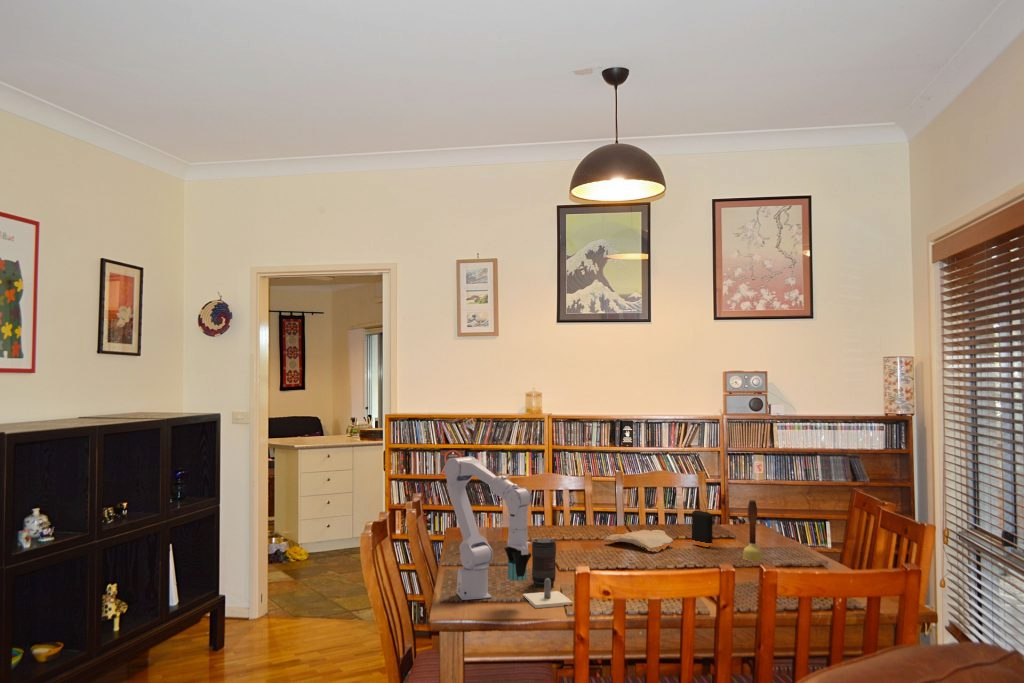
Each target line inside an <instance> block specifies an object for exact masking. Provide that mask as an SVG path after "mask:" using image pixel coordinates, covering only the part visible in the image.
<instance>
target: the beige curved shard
mask: <svg viewBox="0 0 1024 683" xmlns="http://www.w3.org/2000/svg"><path fill="white" fill-rule="evenodd" d="M603 541H604V542H608V541H610V542H611V543H612V541H619V542H618V543H629V544H633V545H635V546H637V547H640V546H641V547H640V548H642V547H647V548H656V547H659V546H662V545H664V544H670V543H671V544H674V540H673V538H672V537H670V536H669V535H668V534H666V532H665V530H661V529H653V530H649V529H641V530H638V531H637V530H636V531H631V532H625V533H624V534H619V533H617V534H616V533H615V534H611V535H608V536H605V538H604V539H603Z"/></svg>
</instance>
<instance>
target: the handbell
mask: <svg viewBox="0 0 1024 683" xmlns="http://www.w3.org/2000/svg"><path fill="white" fill-rule="evenodd" d="M747 520H748V524H749V544H748V545H747V546H746V547H744V548H743V550H742V553H743V554H742V556H743V557H742V559H745V560H749V561H760V560H763V552H762V549H761V548H760V547H758V545H757V544H756V543H757V542H756V540H757V539H756V536H757V535H756V530H757V528H756V527H757V526H756V524H757V520H758V506H757V501H756V500H754V499H749V501H748V507H747Z"/></svg>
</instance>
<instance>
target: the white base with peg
mask: <svg viewBox="0 0 1024 683" xmlns="http://www.w3.org/2000/svg"><path fill="white" fill-rule="evenodd" d="M551 590H552V587H551V580H550V579H549V578H546V579H545V581H544V588H543V592H542V591H541V592H529V593H522V597H523V596H524V597H525V598H526V599H527V600H528V601H529V602H528V601H527V600H526V599H525V598H524V597H523V598H524V599H525V600H526V601H527V602H528V603H529V604H530V605H532V607H534V608H535V609H541V608H554V607H565V606H564V605H565V604H568V603H573V602H574V601H572V600H571V599H569V597H567V596H566V595H564V594H563V593H562V592H560V590H554V591H551ZM573 604H574V603H573Z"/></svg>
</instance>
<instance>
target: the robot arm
mask: <svg viewBox="0 0 1024 683" xmlns="http://www.w3.org/2000/svg"><path fill="white" fill-rule="evenodd" d="M443 473H444V476H445V478H446V487H447V491H448V494H449V498H450V501H451V503H452V507H453V510H454V514H455V517H456V520H457V524H458V527H459V530H460V533H461V537H462V542H461V543H460V544H459V547H458V548H459V554H460V556H459V558H460V562H461V564H462V566H463V567H462V568H458V569H457V576H456V578H457V579H456V580H457V583H456V594H457V595H458V597H459V598H460V599H461V601H462V600H463V601H466V600H480V599H481V600H482V599H492V595H491V594H490V593H489V592H488V591H489V590H488V589H489V588H488V578H489V577H488V576H489V574H488V573H489V567H490V564H491V562H492V561H493V559H494V551H493V549H492V547H491V546H490V544H489V542H488V540H487V538H486V537H485V536H483V535H482V534H480V531H479V528H478V526H477V525H478V524H477V521H476V518H475V515H474V511H473V509H472V505H471V503H470V499H469V497H468V494H467V493H468V492H467V491H466V487H467V484H468V483H469V482H470V481H471V479H472V478H473V477H475V478H477V479H479V480H480V481H481V482H483V483H485V484H487V485H488V486H489V487H490V491H491V492H493V494H495V495H496V496H498V497H500V498H501V499H502V500H503V501H504V502H505V504H506V507H507V513H508V532H507V533H508V538H507V543H506V544H507V546H506V547H504V551H505V554H506V556H507V559H508V561H509V560H514V561H515V567H516V575H517V577H521V576H524V574H525V570H526V566H527V567H528V563H529V561H530V558H531V557H532V552H529V547H528V546H532V543H531V542H530V541H528V514H529V513H528V510H529V509H528V506H529V505H530V504H531V502H532V499H533V497H532V493H531V491H530V490H529V489H528V488H527V487H525V486H523V487H521V486H519V485H518V484H516V483H513V482H512V481H511V480H509V479H508V476H506V475H498V476H496V474H494V473H493V472H492V471H490V470H489V469H488V468H487V467H485V466H484V465H482V463H480V460H479V459H477V458H476V457H474V456H472V455H468V456H463V457H450V458H448V459H447V461H446V462H445V465H444V466H443Z"/></svg>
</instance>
